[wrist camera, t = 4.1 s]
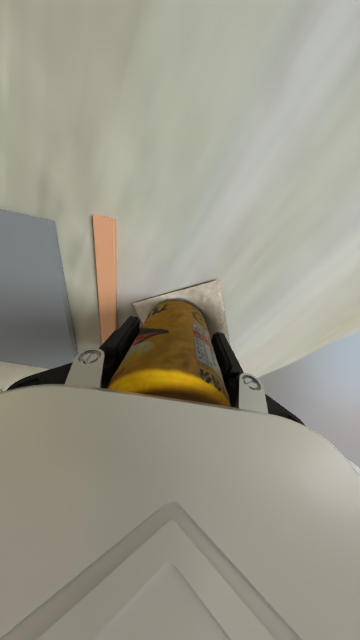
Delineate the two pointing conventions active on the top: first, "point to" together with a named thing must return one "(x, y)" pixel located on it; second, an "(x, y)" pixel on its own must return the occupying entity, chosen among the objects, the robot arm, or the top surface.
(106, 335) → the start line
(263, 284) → the top surface
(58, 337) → the mat
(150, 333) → the condiment
